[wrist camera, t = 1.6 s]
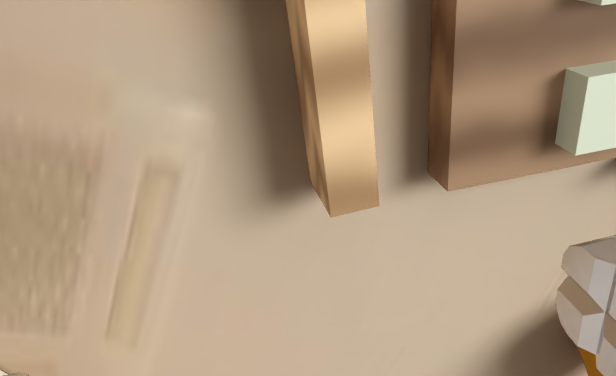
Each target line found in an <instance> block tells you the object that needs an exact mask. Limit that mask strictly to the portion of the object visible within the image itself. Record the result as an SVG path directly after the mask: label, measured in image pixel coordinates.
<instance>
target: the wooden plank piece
mask: <svg viewBox="0 0 616 376" xmlns="http://www.w3.org/2000/svg"><path fill="white" fill-rule="evenodd" d="M286 7H287V14H288V21H289V28H290V35H291V43H292V50H293V57H294V64H295V72H296V79H297V86H298V93H299V100H300V108H301V115H302V122H303V129H304V137H305V144H306V151H307V158H308V165H309V173H310V180H311V183H312V185H313V187H314V188H315V190H316V192H317V194H318V196H319V197H320V199H321V201H322V203H323V204H324V206H325V208H326V210H327V212H328V213H329V215H330V217H335V216H339V215H344V214H348V213H352V212H356V211H360V210H364V209H368V208H372V207H377V206H379V195H378V180H377V166H376V152H375V137H374V123H373V109H372V94H371V80H370V66H369V52H368V37H367V23H366V9H365V0H286Z"/></svg>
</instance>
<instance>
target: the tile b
mask: <svg viewBox="0 0 616 376" xmlns="http://www.w3.org/2000/svg"><path fill="white" fill-rule="evenodd" d="M579 1H583V2H588V3H592V4H597V5H608V4H615V3H616V0H579Z"/></svg>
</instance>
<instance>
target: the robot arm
mask: <svg viewBox="0 0 616 376" xmlns="http://www.w3.org/2000/svg"><path fill="white" fill-rule="evenodd" d="M561 267H562V269H563V270H564V271H565V272H566V274H567V275H568V277H567V278H566V279H565V280H564V282H563V283H562V284H561V285H560V287H559V288H558V289H557V298H556V308H557V312H558V316H559V320H560V323H561V325H562V326H563V328H564V330H565V332H566V333H567V335H568V336H569V337H570V338H571V340H572V341H573V342H574V343H575V344H576V345H577V346H578V347H580V348H582V349H585V350H587V351H589V352H591V353H593V354H596V368H597V369H598V370H599V371H600V372H601V374H602V375H603V376H616V235H613V236H609V237H605V238H601V239H597V240H592V241H588V242H584V243H580V244H576V245H571V246H569V247H568V249H567V250H566V251H565V253H564V255H563V260H562V265H561ZM0 376H29V374H28V373H22V372H18V373H13V374H6V373H4V372H3V371H1V370H0Z"/></svg>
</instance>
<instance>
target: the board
mask: <svg viewBox="0 0 616 376" xmlns="http://www.w3.org/2000/svg"><path fill="white" fill-rule="evenodd" d="M614 60H616V3H615V4H608V5H597V4H592V3H588V2H583V1H579V0H432V33H431V70H430V107H429V145H428V173H429V174H430V175H431V176H432V177H433V178H434V179H435V180H436V181H438V182H439V183H440V184H441V185H442V186H443V187H444V188H445V189H446V190H447V191H453V190H458V189H463V188H468V187H473V186H478V185H483V184H488V183H492V182H497V181H502V180H507V179H512V178H517V177H522V176H527V175H532V174H537V173H542V172H547V171H552V170H557V169H562V168H567V167H572V166H576V165H581V164H586V163H591V162H596V161H601V160H606V159H611V158H616V148H611V149H606V150H601V151H596V152H591V153H586V154H581V155H576V156H575V155H574V154H572V153H570V152H568V151H567V150H565V149H563V148H562V147H560V146H558V145H557V144H555V140H556V133H557V126H558V120H559V113H560V106H561V100H562V93H563V86H564V79H565V73H566V68H572V67H578V66H584V65H590V64H596V63H602V62H608V61H614Z"/></svg>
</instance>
